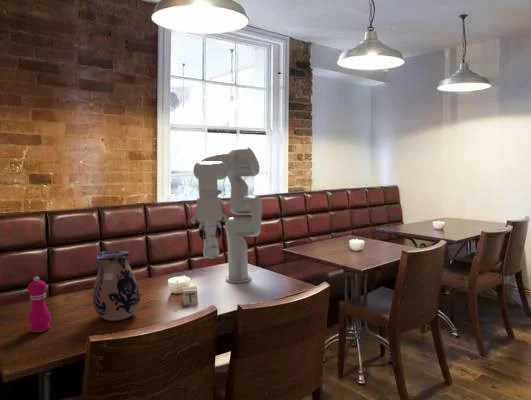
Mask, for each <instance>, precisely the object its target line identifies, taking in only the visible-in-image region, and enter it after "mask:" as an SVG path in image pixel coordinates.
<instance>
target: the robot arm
mask: <svg viewBox="0 0 531 400" xmlns="http://www.w3.org/2000/svg"><path fill="white" fill-rule="evenodd" d="M192 173H193V175H194V177H195V178H196V179H197V180H198V181H197V182H198V197H197V198H196V213H195V214H194V215H193V217H191V219H190V223H191V224H193V225H194V226H195V227H196V228H197V229H198V231H199V238H201V240H204V232H203V222H204V221H205V220H207V219H208V218H212V219H214V220H215V221H216V222H217V224H218V228H217V239H221V236H222V227H224V228H225V233H226V239H227V257H228V258H227V263H228V275H227V276H226V277H225V281H226V282H227V283H231V284H243V283H247V282H250V281H251V280H252V276H251V275H250V274H248V273H249V270H248V268H249V267H248V266H249V265H248V244H247V241H246V240H245V238H244V237H258V236H259V235H260V234H261V232H262V231H261V230H262V229H261V228H262V215H263V213H262V212H263V204H262V203H263V202H262V200H261V199H262V198H261V197H260V196H258V195H249V193H248V192H249V186H248V185H249V184H248V183H247V182H246V180H244V177H256V176H257V175H258V174H259V173H260V163H259V160H258V158H257V157H256V155H255V153H254V151H253V150H252V149H251V148H250V147H247V146H246V147H245V146H240V147H239V146H237V147H228V148H225V149H224V150H223V151H222V152H221V153H218V154H214V155H211V156H206V157H203V158H201V159H199V160H198V161H196V163H195V164H194V166H193V171H192ZM226 178H227V179H228V181H229V183H230V200H229V210H230V212H231V213H232V214H233V215H241V216H232V217H231V216H230V217H229V216H227V215H226V213H224V212H223V210H222V209H223V208H222V202H221V197H220V196H219V195H220V194H221V195H222V190H220V189H218V188H219V187H218V180H219V181H220V180H224V179H226ZM242 215H245V216H242ZM246 215H250V216H246ZM195 220H197V221H195Z"/></svg>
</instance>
